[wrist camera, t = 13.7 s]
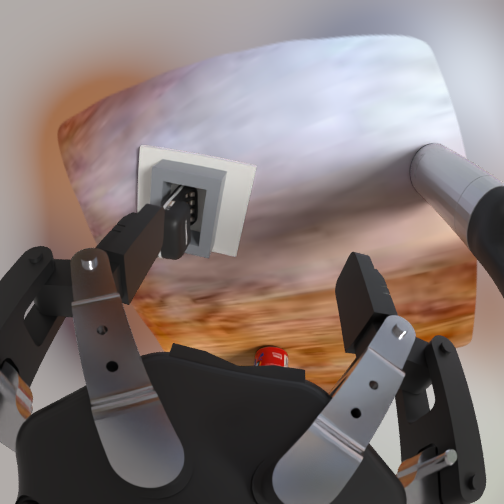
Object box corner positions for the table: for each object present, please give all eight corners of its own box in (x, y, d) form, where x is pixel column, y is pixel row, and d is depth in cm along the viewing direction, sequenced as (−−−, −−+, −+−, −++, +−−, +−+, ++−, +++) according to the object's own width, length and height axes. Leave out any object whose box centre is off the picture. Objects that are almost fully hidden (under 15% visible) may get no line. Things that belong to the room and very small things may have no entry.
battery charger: (202, 224, 45) (181, 267, 36) (179, 221, 45) (154, 263, 36) (203, 184, 41) (179, 219, 32) (179, 181, 41) (149, 216, 32)
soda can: (295, 353, 63) (294, 409, 51) (272, 365, 67) (268, 418, 55) (271, 339, 61) (267, 398, 49) (248, 352, 65) (241, 408, 52)
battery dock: (256, 165, 40) (253, 176, 36) (236, 253, 49) (232, 271, 45) (142, 144, 39) (127, 153, 35) (139, 231, 48) (127, 246, 44)
